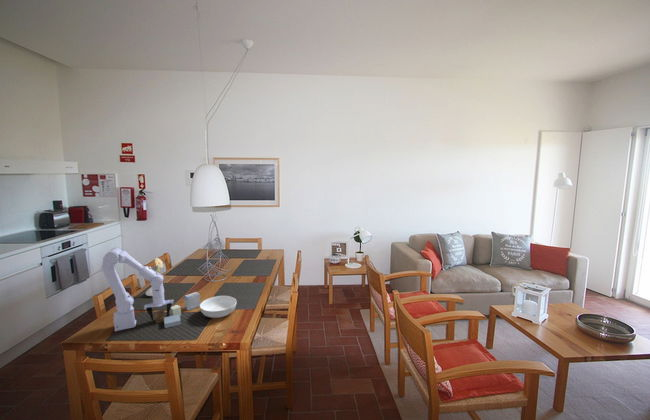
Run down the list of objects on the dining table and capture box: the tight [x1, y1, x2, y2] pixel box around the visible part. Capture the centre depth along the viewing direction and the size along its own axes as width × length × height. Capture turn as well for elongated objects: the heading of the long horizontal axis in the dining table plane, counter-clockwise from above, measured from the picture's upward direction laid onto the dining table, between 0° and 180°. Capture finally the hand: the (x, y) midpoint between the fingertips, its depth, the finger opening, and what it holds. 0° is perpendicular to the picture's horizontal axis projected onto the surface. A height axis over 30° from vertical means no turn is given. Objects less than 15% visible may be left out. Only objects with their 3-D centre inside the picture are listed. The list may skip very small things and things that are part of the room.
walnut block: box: [154, 308, 166, 324], centre depth 170 cm, size 4×4×6 cm
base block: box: [163, 314, 182, 329], centre depth 168 cm, size 8×8×3 cm
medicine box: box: [183, 291, 201, 311], centre depth 186 cm, size 8×4×9 cm, turn 141°
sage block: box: [169, 304, 182, 317], centre depth 176 cm, size 4×4×6 cm
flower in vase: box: [145, 257, 164, 297], centre depth 204 cm, size 13×11×25 cm
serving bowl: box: [199, 295, 237, 319], centre depth 179 cm, size 21×21×7 cm
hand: (160, 317), depth 170 cm, fingers open, 7 cm apart
